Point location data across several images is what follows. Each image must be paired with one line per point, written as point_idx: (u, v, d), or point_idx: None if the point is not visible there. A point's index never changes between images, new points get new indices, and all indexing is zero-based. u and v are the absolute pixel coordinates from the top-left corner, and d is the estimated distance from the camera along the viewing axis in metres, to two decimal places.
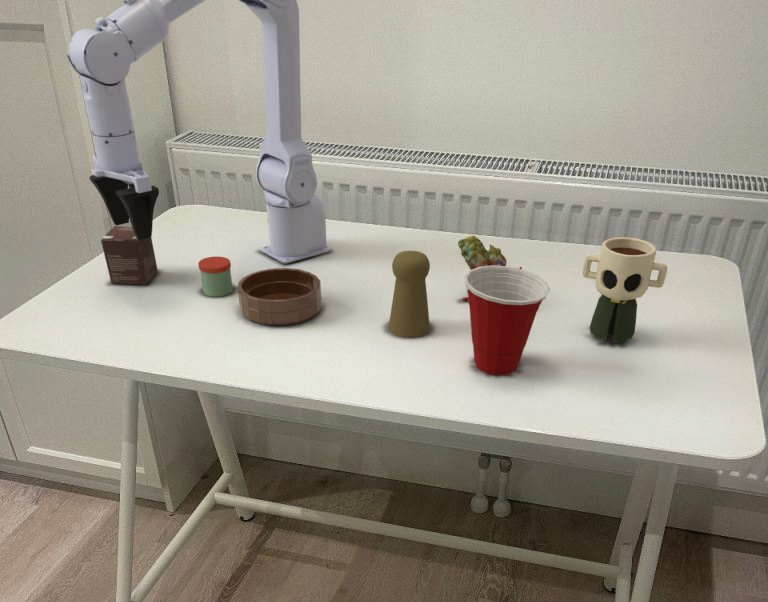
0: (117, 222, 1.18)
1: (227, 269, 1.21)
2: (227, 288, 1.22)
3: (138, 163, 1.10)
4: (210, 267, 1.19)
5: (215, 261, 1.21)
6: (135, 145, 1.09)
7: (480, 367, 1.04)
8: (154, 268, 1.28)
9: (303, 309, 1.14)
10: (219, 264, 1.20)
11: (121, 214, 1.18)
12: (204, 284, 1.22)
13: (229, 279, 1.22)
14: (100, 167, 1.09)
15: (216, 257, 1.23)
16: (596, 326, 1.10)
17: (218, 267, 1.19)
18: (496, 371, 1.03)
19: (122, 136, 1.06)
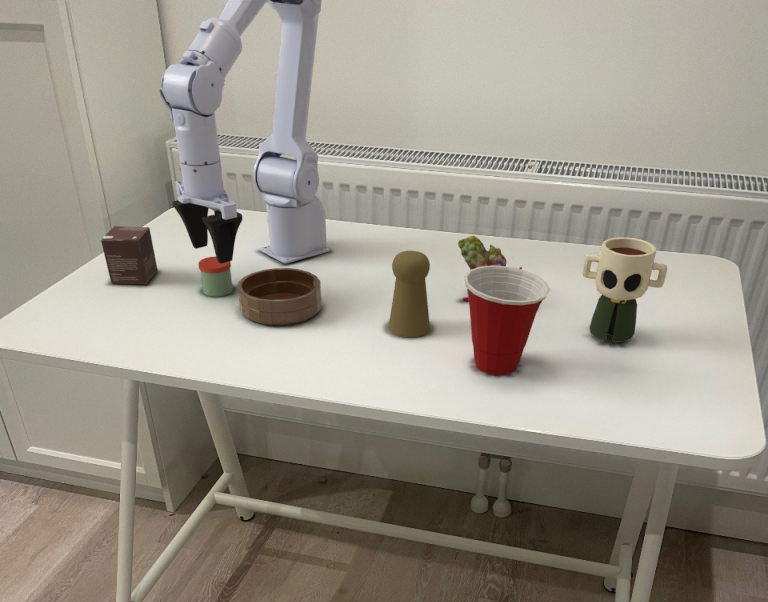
0: (196, 246, 1.22)
1: (227, 269, 1.21)
2: (227, 288, 1.22)
3: (222, 190, 1.14)
4: (210, 267, 1.19)
5: (215, 261, 1.21)
6: (221, 173, 1.12)
7: (480, 367, 1.04)
8: (154, 268, 1.28)
9: (303, 309, 1.14)
10: (219, 264, 1.20)
11: (200, 238, 1.21)
12: (204, 284, 1.22)
13: (229, 279, 1.22)
14: (186, 194, 1.13)
15: (216, 257, 1.23)
16: (596, 326, 1.10)
17: (218, 267, 1.19)
18: (496, 371, 1.03)
19: (210, 165, 1.10)
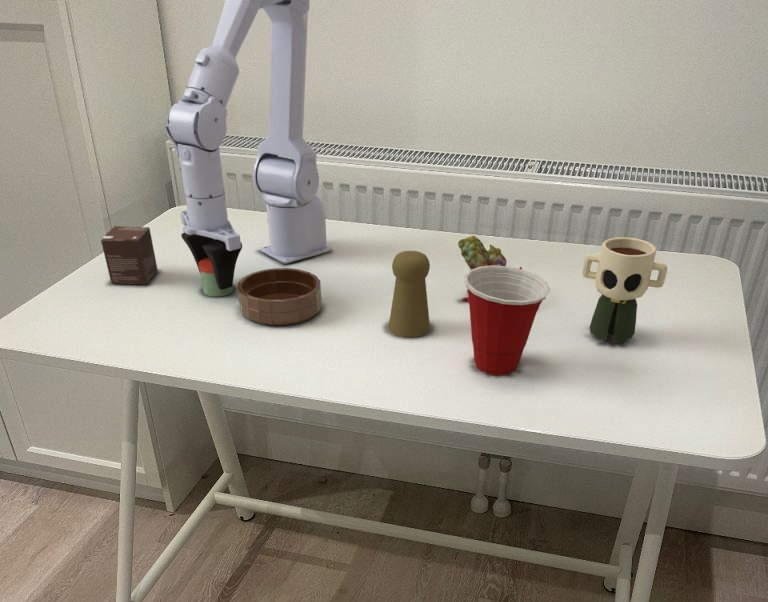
0: None
1: None
2: (227, 288, 1.22)
3: (226, 221, 1.17)
4: (210, 267, 1.19)
5: None
6: (225, 204, 1.15)
7: (480, 367, 1.04)
8: (154, 268, 1.28)
9: (303, 309, 1.14)
10: None
11: None
12: (204, 284, 1.22)
13: None
14: (191, 225, 1.16)
15: None
16: (596, 326, 1.10)
17: None
18: (496, 371, 1.03)
19: (215, 198, 1.13)
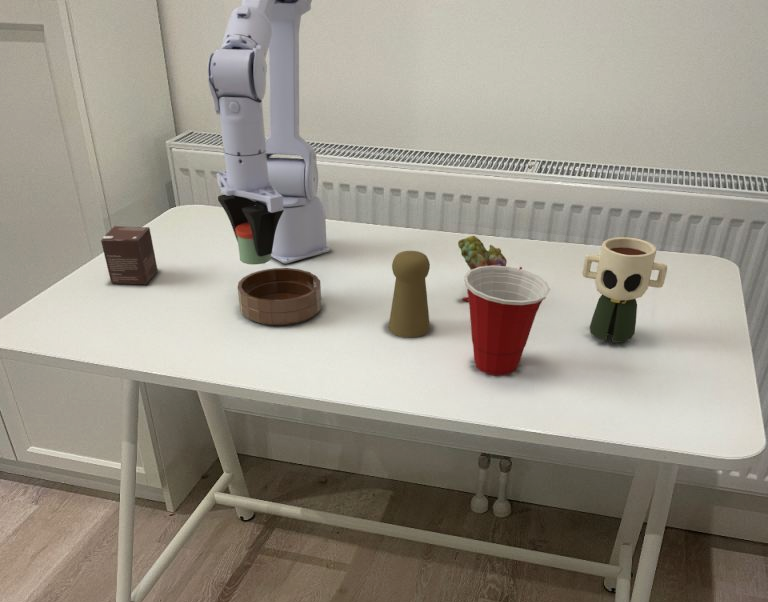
0: None
1: None
2: (265, 255, 1.14)
3: (267, 182, 1.09)
4: (248, 232, 1.11)
5: None
6: (266, 163, 1.07)
7: (480, 367, 1.04)
8: (154, 268, 1.28)
9: (303, 309, 1.14)
10: None
11: None
12: (241, 251, 1.14)
13: None
14: (230, 186, 1.08)
15: None
16: (596, 326, 1.10)
17: None
18: (496, 371, 1.03)
19: (256, 155, 1.05)
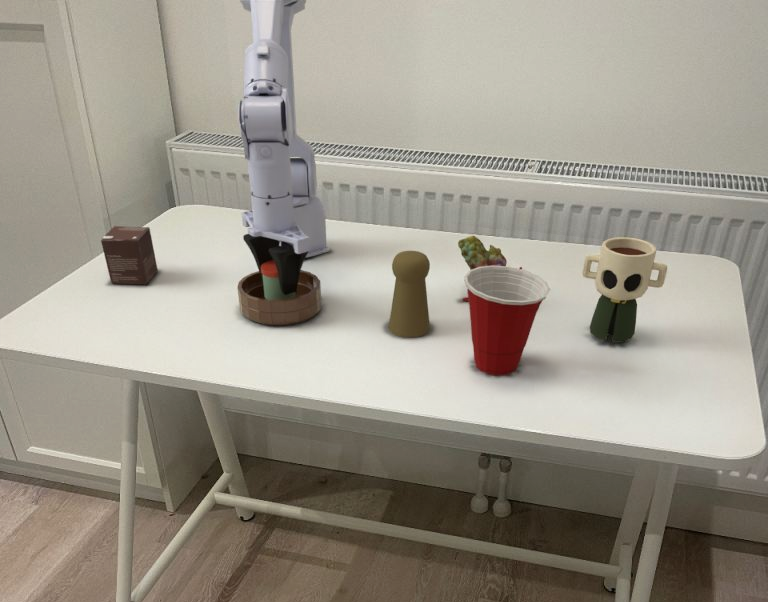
0: None
1: None
2: (290, 293, 1.15)
3: (293, 222, 1.10)
4: (274, 271, 1.13)
5: None
6: (292, 205, 1.09)
7: (480, 367, 1.04)
8: (154, 268, 1.28)
9: (303, 309, 1.14)
10: None
11: None
12: (266, 289, 1.15)
13: None
14: (257, 227, 1.09)
15: None
16: (596, 326, 1.10)
17: None
18: (496, 371, 1.03)
19: (283, 197, 1.06)
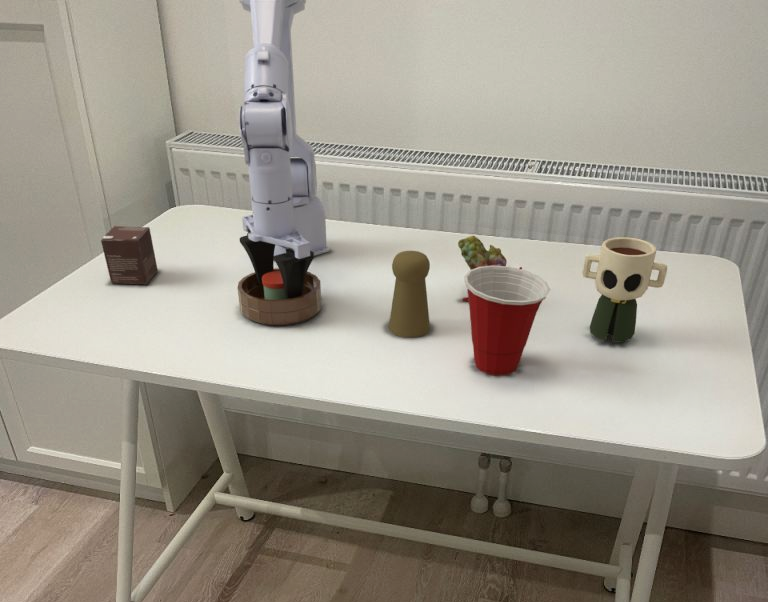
0: None
1: None
2: None
3: (293, 227, 1.11)
4: (275, 282, 1.14)
5: (279, 276, 1.16)
6: (293, 210, 1.09)
7: (480, 367, 1.04)
8: (154, 268, 1.28)
9: (303, 309, 1.14)
10: None
11: None
12: None
13: None
14: (257, 232, 1.10)
15: (279, 271, 1.17)
16: (596, 326, 1.10)
17: None
18: (496, 371, 1.03)
19: (283, 203, 1.07)
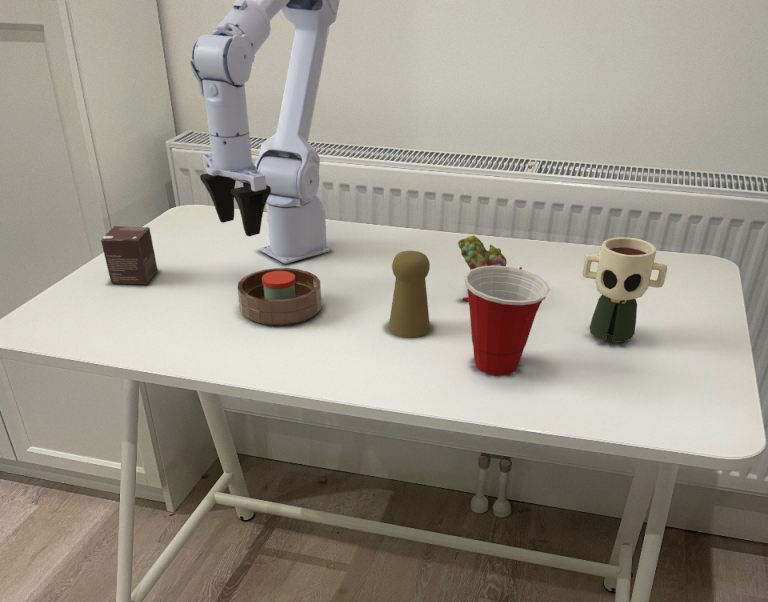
0: (223, 220, 1.22)
1: (292, 284, 1.15)
2: None
3: (251, 162, 1.14)
4: (275, 282, 1.14)
5: (279, 276, 1.16)
6: (249, 145, 1.13)
7: (480, 367, 1.04)
8: (154, 268, 1.28)
9: (303, 309, 1.14)
10: (284, 279, 1.15)
11: (227, 212, 1.22)
12: None
13: (293, 294, 1.16)
14: (215, 166, 1.13)
15: (279, 271, 1.17)
16: (596, 326, 1.10)
17: (283, 282, 1.14)
18: (496, 371, 1.03)
19: (239, 137, 1.10)
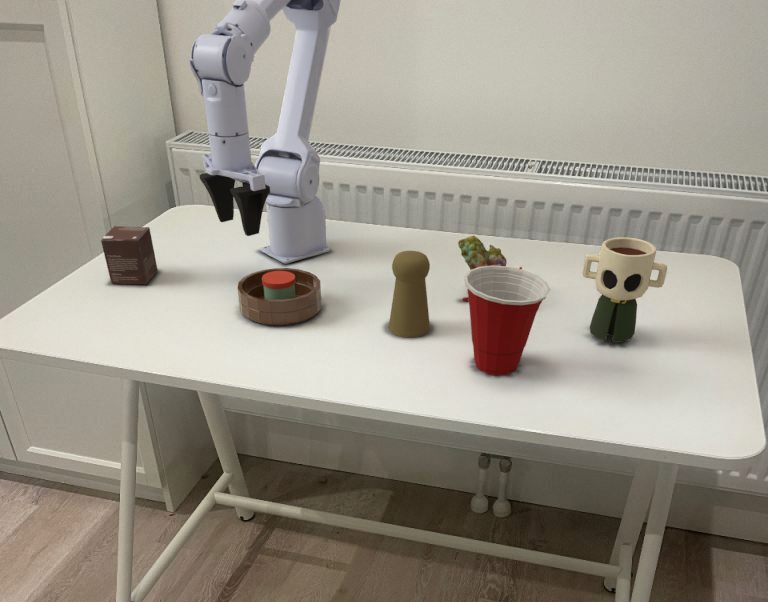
0: (222, 219, 1.22)
1: (292, 284, 1.15)
2: None
3: (250, 162, 1.14)
4: (275, 282, 1.14)
5: (279, 276, 1.16)
6: (249, 144, 1.13)
7: (480, 367, 1.04)
8: (154, 268, 1.28)
9: (303, 309, 1.14)
10: (284, 279, 1.15)
11: (227, 211, 1.22)
12: None
13: (293, 294, 1.16)
14: (215, 166, 1.13)
15: (279, 271, 1.17)
16: (596, 326, 1.10)
17: (283, 282, 1.14)
18: (496, 371, 1.03)
19: (239, 136, 1.11)
